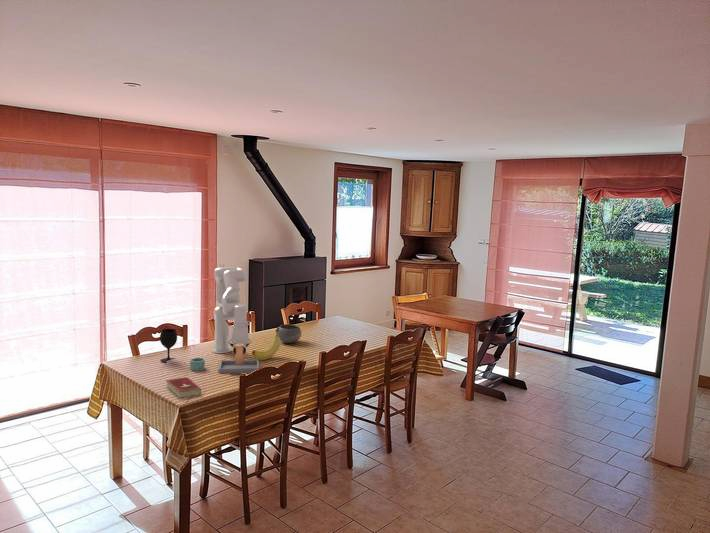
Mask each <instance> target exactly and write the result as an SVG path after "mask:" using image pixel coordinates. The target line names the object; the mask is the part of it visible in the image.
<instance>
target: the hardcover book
mask: <svg viewBox="0 0 710 533" xmlns="http://www.w3.org/2000/svg"><path fill="white" fill-rule="evenodd" d="M165 381H166V386H167V388H169V390H170V391H172V393H173V394H174V395H176V396H177V397H178V398H185V397H190V396H195V395H196V396H197V395H201V393H202V389H201V387H200V386H199V385H197V384H196V383H195V382H194V381H193V380H191V379H190V378H189V377H188V376H185V377H177V378H171V379H166V380H165Z"/></svg>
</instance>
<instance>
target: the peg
mask: <svg viewBox="0 0 710 533" xmlns="http://www.w3.org/2000/svg"><path fill="white" fill-rule="evenodd" d="M235 347H236V354H234V356H235V357H234V358H235V359H234V360H235V364H236V365H242V364H243V361H244V360H245V356H244V355H245V354H244V345H241V344H239V345H238V344H237V345H235Z"/></svg>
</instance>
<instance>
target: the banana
mask: <svg viewBox="0 0 710 533" xmlns="http://www.w3.org/2000/svg"><path fill="white" fill-rule="evenodd" d="M278 331H279V327H276V329H275V336H274V337H273V338H272V340H271V342H270V343H269V345H268V346H267V348H265V349H263V350H252V352H251V353H252V357H253V358H254V360H259V361H264V360H268V359H270V358H272V357H273V356H275V354H276V353H277V352H278V350H279V349H280V347H281V341H280V338H279V336H278Z"/></svg>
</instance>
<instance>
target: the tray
mask: <svg viewBox="0 0 710 533" xmlns="http://www.w3.org/2000/svg"><path fill="white" fill-rule="evenodd" d="M259 361H260V360H258V359H244V361H243V364H242V365H236V364H235V359H220V360H219V364H218V374H229V375H242V374H241V373H246V374H245V375H249V374H248V373H251V372H253V371H255V370H257V369H259V370H260V364H259V363H260V362H259Z"/></svg>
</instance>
